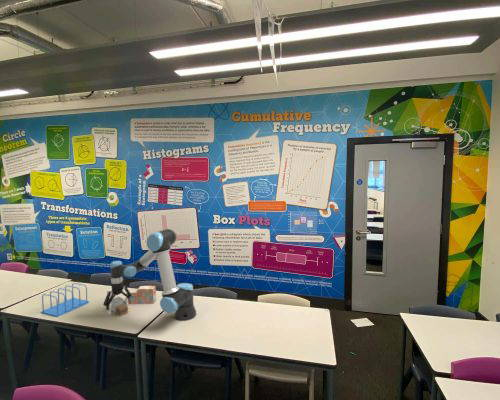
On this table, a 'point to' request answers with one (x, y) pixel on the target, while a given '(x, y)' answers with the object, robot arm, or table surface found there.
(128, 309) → the envelope
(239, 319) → the table surface
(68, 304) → the file sorter
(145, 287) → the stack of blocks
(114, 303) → the grey block
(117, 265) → the robot arm
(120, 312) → the walnut cube
